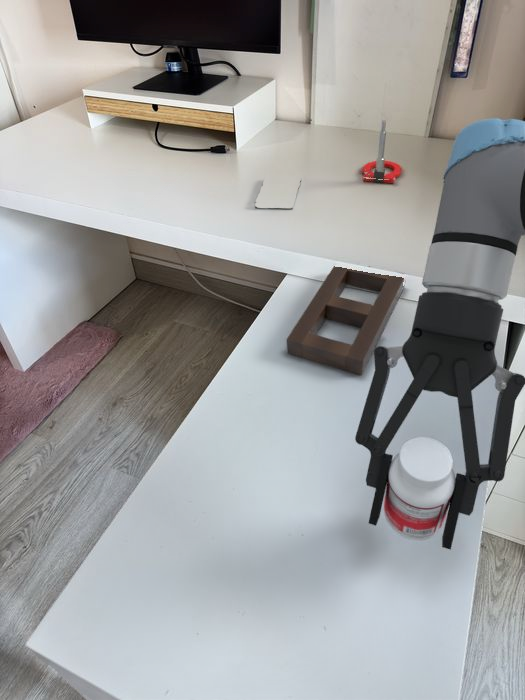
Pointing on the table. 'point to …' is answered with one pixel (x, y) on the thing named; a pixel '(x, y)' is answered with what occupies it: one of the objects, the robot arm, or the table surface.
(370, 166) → the tow hook
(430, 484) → the pill bottle
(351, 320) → the rack
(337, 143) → the table surface
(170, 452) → the table surface
